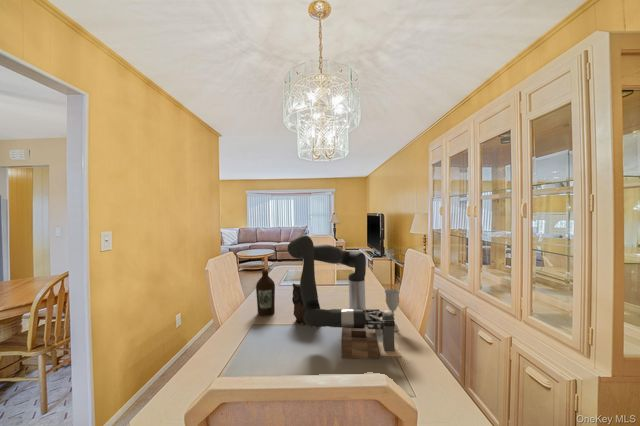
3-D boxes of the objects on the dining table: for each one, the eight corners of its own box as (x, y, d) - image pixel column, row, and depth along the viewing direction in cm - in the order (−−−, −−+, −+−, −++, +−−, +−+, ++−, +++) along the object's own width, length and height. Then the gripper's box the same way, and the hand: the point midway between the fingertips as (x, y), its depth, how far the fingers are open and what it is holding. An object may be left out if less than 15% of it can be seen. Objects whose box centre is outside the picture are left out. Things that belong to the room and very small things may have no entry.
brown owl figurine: (320, 324, 131) (319, 285, 130) (296, 328, 127) (295, 287, 127) (314, 315, 143) (313, 279, 143) (291, 318, 139) (290, 281, 139)
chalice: (390, 333, 119) (389, 294, 119) (382, 326, 126) (381, 290, 126) (404, 330, 121) (402, 292, 121) (396, 324, 128) (395, 288, 128)
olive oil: (257, 310, 152) (256, 268, 152) (275, 309, 154) (274, 267, 154) (255, 317, 142) (254, 272, 142) (275, 316, 143) (274, 270, 143)
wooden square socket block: (342, 339, 114) (342, 326, 114) (374, 340, 113) (374, 327, 113) (341, 357, 100) (341, 342, 100) (378, 358, 99) (378, 343, 99)
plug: (383, 345, 107) (382, 309, 107) (392, 346, 107) (391, 310, 107) (384, 351, 103) (383, 313, 103) (394, 351, 103) (393, 313, 103)
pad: (377, 343, 111) (377, 342, 111) (396, 343, 110) (396, 342, 110) (380, 356, 101) (380, 355, 101) (401, 356, 100) (401, 355, 100)
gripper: (352, 316, 100) (395, 316, 98) (352, 303, 114) (389, 303, 112) (353, 335, 100) (396, 336, 98) (352, 320, 114) (390, 320, 112)
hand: (392, 318), depth 105 cm, fingers open, 8 cm apart
